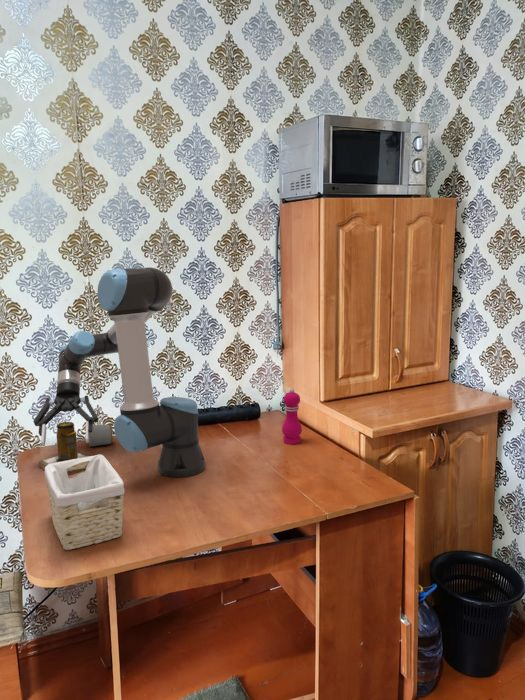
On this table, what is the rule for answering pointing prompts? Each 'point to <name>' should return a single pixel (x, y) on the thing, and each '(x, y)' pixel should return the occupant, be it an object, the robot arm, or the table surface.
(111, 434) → the ceramic mug
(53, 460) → the writing board
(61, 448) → the condiment
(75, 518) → the storage basket
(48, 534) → the table surface
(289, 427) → the pepper mill
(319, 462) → the table surface
